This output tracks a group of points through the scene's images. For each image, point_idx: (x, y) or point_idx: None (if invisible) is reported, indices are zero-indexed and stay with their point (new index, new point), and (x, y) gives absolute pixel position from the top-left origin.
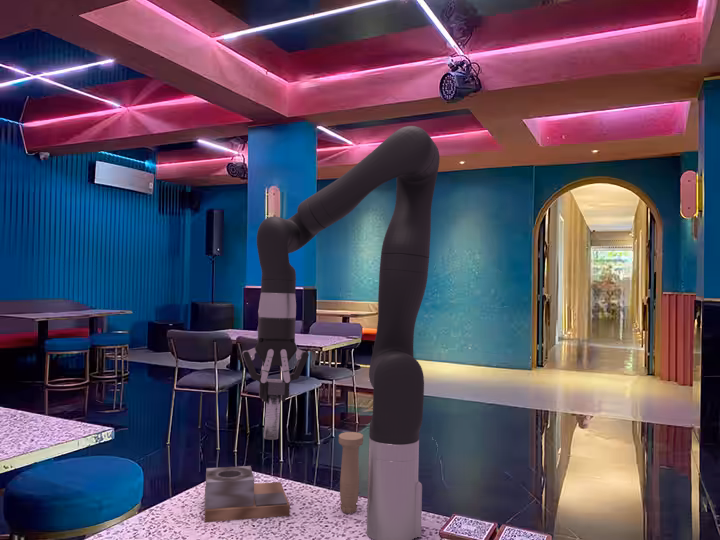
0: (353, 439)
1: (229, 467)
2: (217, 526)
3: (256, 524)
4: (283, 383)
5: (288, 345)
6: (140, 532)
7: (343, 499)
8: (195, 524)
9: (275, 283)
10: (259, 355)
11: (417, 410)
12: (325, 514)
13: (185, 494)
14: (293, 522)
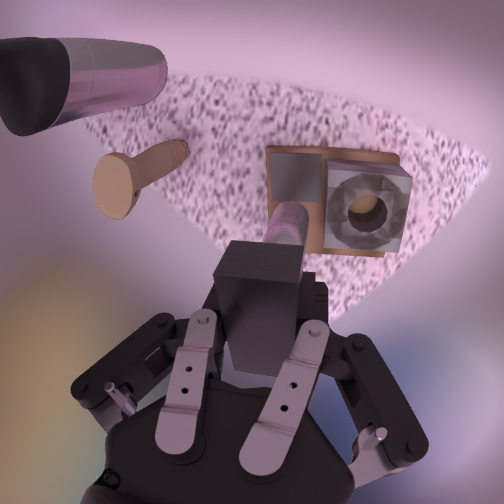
0: (106, 157)
1: (361, 248)
2: (379, 133)
3: (322, 124)
4: (222, 273)
5: (139, 465)
6: (467, 149)
7: (179, 145)
8: (407, 150)
9: None
10: (332, 448)
11: None
12: (213, 142)
13: (402, 262)
14: (264, 119)
